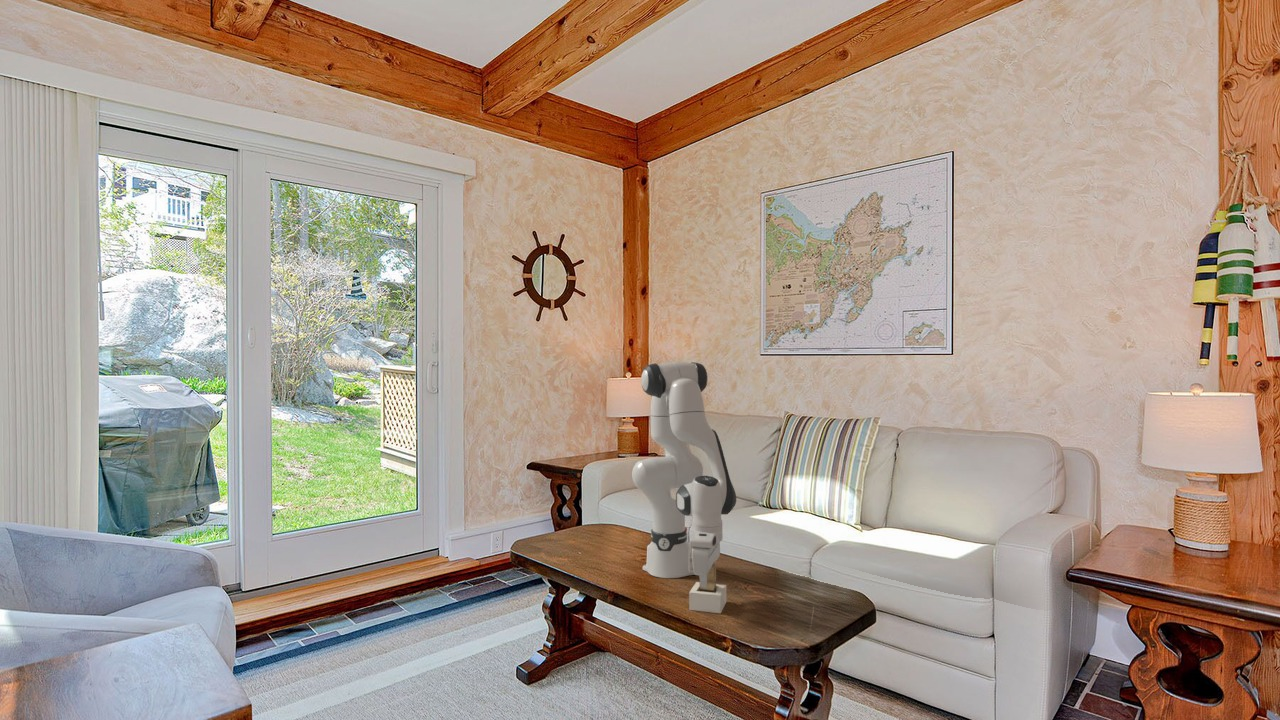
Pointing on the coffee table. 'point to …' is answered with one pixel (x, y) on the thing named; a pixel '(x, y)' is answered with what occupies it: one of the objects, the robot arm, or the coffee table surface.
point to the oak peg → (710, 580)
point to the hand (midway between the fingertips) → (707, 581)
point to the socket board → (707, 599)
